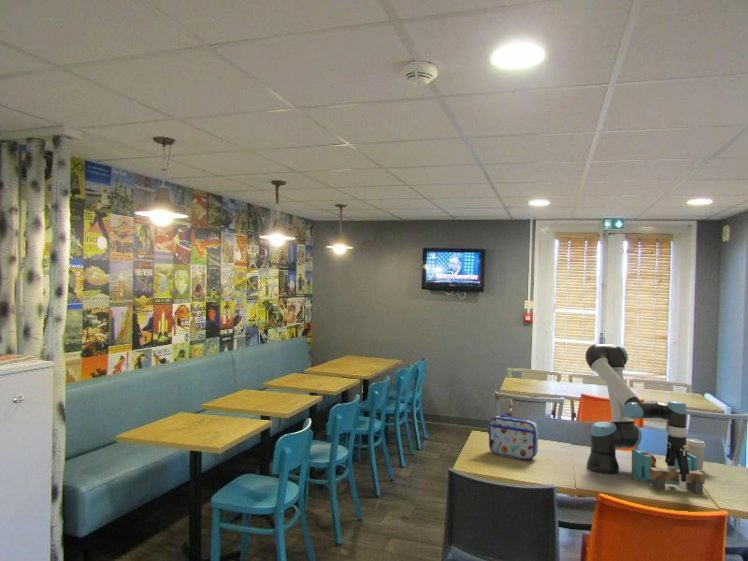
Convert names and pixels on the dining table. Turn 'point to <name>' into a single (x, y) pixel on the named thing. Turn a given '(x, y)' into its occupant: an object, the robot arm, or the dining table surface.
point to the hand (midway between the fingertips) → (676, 484)
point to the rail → (676, 475)
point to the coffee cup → (696, 451)
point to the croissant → (652, 459)
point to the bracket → (644, 463)
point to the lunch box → (513, 437)
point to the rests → (694, 487)
